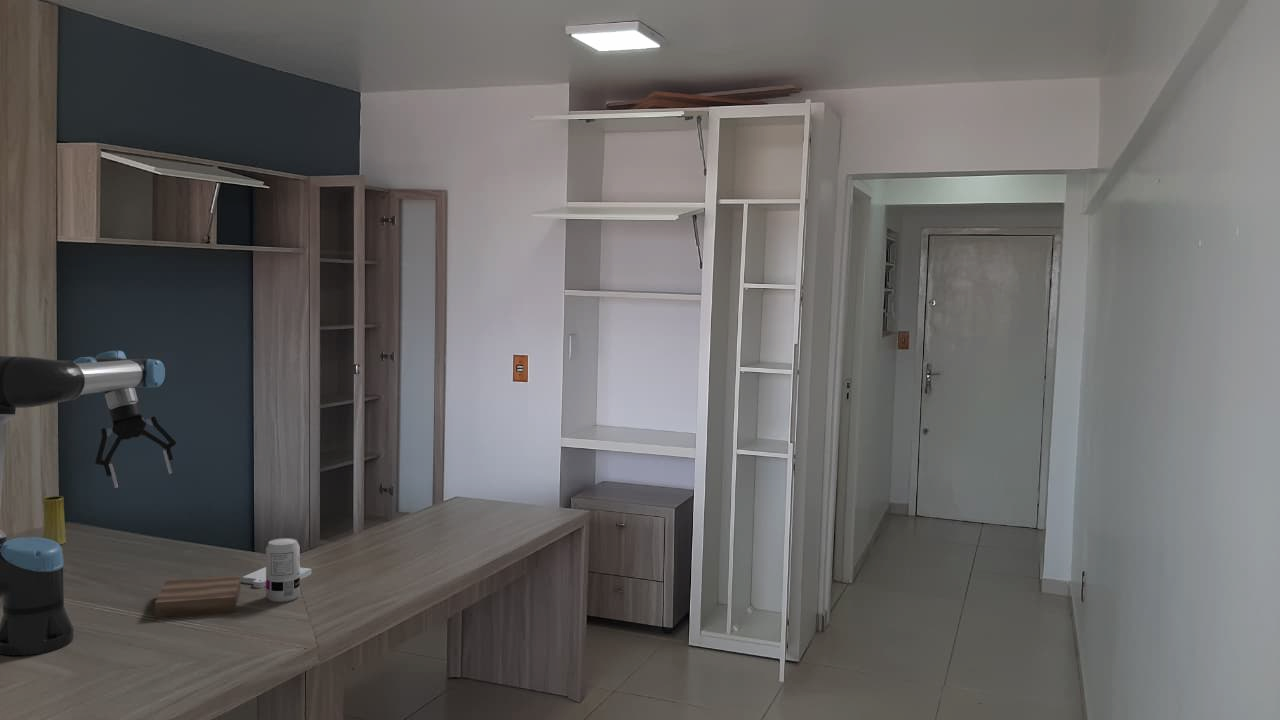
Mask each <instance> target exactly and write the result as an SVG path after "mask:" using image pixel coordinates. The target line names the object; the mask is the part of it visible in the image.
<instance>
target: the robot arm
mask: <svg viewBox="0 0 1280 720" xmlns="http://www.w3.org/2000/svg"><path fill="white" fill-rule="evenodd" d="M165 377H166V368H165V365H164V363H163V362H162V361H161V360H159V359H151V358H147V359H146V358H127V356H126V353H125V352H124V351H122V350H110V351H109V350H108V351H105V352H101V353H99V354H97V355H96V356H95V357H93V356H81V357H79V358H76V359H75V360H73V361H72V360H68V359H64V360H62V359H61V360H59V359H58V360H57V359H49V358H48V359H47V358H39V357H32V356H12V355H11V356H9V355H7V356H6V355H4V356H3V355H0V510H1V508H2V507H1V505H2V493H3V481H4V480H3V479H4V466H5V465H4V463H5V451H6V441H7V440H6V436H7V425H8V422H9V421H10V420H12V419H13V418H14V417H15V416H16V409H18V408H19V409H20V408H22V409H23V408H26V409H27V408H34V407H42V406H47V405H52V404H57V403H61V402H68V401H72V400H75V399H77V398H79V397H80V395H81V396H82V395H87V394H88V395H89V394H95V393H104V397H105V401H106V404H107V408H108V409H110V410H109V415H110V418H111V423H112V427H111V428H102V429H101V440H100V444H99V447H98V450H97V455H96V459H95V460H94V461H95V462H94V463H95V464H96V465H97V466H104V470H105V471H104V472H105V473H106V474H105V475H106V476H107V477H108V478H109V477H112V481H113V486H114V488H117V489H118V488H119V485H118V481H117V476H116V473H115V469H114V466H113V463H111V460H112V459H113V457H114V455H115V454H116V452H117V450H118V448H119V447H120V445H121V444H122V442H123V440H124V441H130V440H131V439H138V438H140V437H141V436H143V437H145V438H146V439H148V440H150V441H152V442H153V443H155V444H156V445H158V446H159V447H161V448H162V449H163V450H162V453H163V456H164V460H165V463H166V464H165V465H166V467H167V468H166V469H167V471H168V474H169V475H170V474H172V473H173V471H172V467H171V464H170V461H173V459H174V457H173V454H172V448H173V447H175V446H176V445H177V441H176V440H175V439H173V437H171V435H170V434H169V433H168V432H167V430H165V429H164V428H163V427H162V426H161V425H160V424H159V422H158V421H157V418H156V417H155V416H150V418H147V419H145V418H144V417H143V413H142V411H141V407H140V404H139V403H138V402H139V399H138V395H137V392H136V391H137V390H136V388H147V389H150V388H158V387H161V386H162V384H163V382H164V381H165ZM147 425H149V426H151V427H154V429H155V430H156V431H157V432H158V433H159V434H160V435H161V436H162V437H163V439H165V440H166V441H167V442H168V443H167V442H165V441H163V440H161V439H160V438H158V437H156V436H155V435H153V434H151V433H150V432H149V431H147V430H145V428H146V426H147ZM112 433H113V434H115V435H116V436H117V437H116V439H115V441H114V443H113V444H112V447H111V448H110V450H109V451H108V453H107V455H106V457H105V459H104V460H103V457H104V453H105V450H106V445H107V442H108V437H110V436H111V434H112ZM61 546H62V545H59V544H58V543H57V542H55V541H53V540H50V539H46V538H44V537H37V536H31V537H23V536H22V537H17V538H12V539H8V540H7V534H6V532H4V531H3V530H2V529H1V528H0V599H2V616H1V620H0V655H2V654H4V655H3V656H9V655H13V656H12V657H14V656H15V655H23V656H31V655H32V656H33V655H38V654H42V653H43V654H45V653H49V652H51V651H54V650H58V649H60V648H63V647H65V646H67V645H69V644H70V643H71V642H72V641H73V640H74V627H73V625H72V622H71V620H70V618H69V615H68V612H67V610H66V607H65V602H64V600H65V599H64V595H65V592H64V591H65V590H64V587H65V585H64V583H65V582H64V565H65V560H64V555H63V548H62V547H61ZM15 657H16V656H15Z"/></svg>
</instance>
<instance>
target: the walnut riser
mask: <svg viewBox="0 0 1280 720" xmlns="http://www.w3.org/2000/svg"><path fill="white" fill-rule="evenodd" d="M240 593H241V575H232V576H231V575H229V576H218V577H217V576H216V577H202V578H199V577H198V578H186V579H173V580H171V579H168V580H165V581H164V583H163V585H162V587H161V590H160V591H159V594H158V595H157V597H156V600H155V601H154V614H155V615H154V618H155V619H156V618H158V619H167V618H170V617H171V618H184V617H195V616H208V615H220V614H221V615H222V614H232V613H234V614H235V613H236V611H237V608H238V607H237V606H238V602H239V598H240ZM166 617H167V618H166Z"/></svg>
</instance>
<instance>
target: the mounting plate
mask: <svg viewBox="0 0 1280 720" xmlns="http://www.w3.org/2000/svg"><path fill="white" fill-rule="evenodd" d="M312 571H313V570H312V568H308V567H301V566H300V580H302V579H304V578H306V577H309V576H310V575H312ZM241 583H243V584H244V583H245V584H252V585H253V588H257V589H262V588H266V566H264V567H262V568H260V569H258V570H255V571H252V572H251V573H249V574H246V575H244V576H242V577H241Z"/></svg>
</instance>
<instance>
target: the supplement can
mask: <svg viewBox="0 0 1280 720" xmlns="http://www.w3.org/2000/svg"><path fill="white" fill-rule="evenodd" d="M300 547H301V546H300V544H299V542H298V539H297V538H296V539H295V538H290V537H283V538H282V537H281V538H275V539H272V540H271V539H270V541H268V544H267V546H266V548H265V567H266V586H265V589H266V591H265V592H266V593H265V596H266V598H267V600H269V601H270V602H273V603H286V602H291V601H294V600H296V599H297V598H298V597H299V596H300V593H301V587H300V586H301V584H300V583H301V579H300V567H301V564H300V561H301V560H300V559H301V558H300V557H301V554H300V552H301V550H300Z"/></svg>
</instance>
